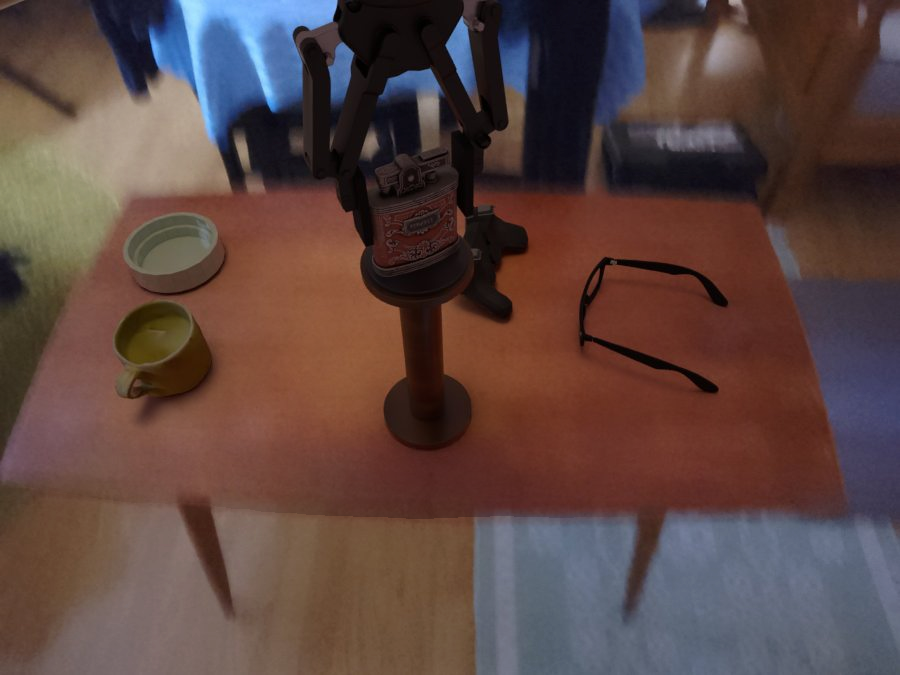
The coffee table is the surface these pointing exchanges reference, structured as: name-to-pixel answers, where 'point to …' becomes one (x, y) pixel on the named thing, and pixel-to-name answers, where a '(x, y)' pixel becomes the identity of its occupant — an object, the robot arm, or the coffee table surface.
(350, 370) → the coffee table surface
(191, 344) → the mug
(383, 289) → the stand
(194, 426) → the coffee table surface
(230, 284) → the coffee table surface
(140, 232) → the bowl
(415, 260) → the lighter
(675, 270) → the glasses
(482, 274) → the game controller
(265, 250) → the coffee table surface
